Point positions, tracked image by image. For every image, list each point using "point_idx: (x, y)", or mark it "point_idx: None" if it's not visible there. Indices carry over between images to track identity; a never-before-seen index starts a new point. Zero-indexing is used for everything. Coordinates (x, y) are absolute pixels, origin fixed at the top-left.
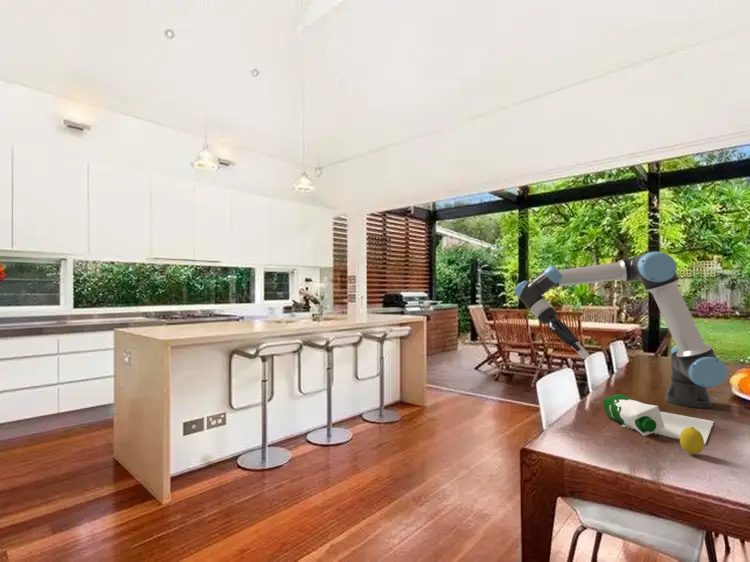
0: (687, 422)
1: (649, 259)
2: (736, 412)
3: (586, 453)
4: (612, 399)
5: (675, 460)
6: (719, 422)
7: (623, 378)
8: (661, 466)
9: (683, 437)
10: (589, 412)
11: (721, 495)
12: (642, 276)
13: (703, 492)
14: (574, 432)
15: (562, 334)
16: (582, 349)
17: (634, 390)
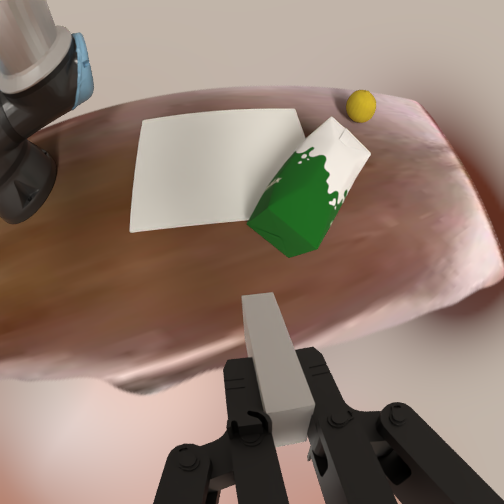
0: (186, 138)
1: None
2: (56, 128)
3: (468, 216)
4: (325, 212)
5: (391, 134)
6: (135, 119)
7: None
8: (420, 145)
9: (375, 109)
10: None
11: (421, 110)
12: None
13: (430, 119)
14: (432, 264)
15: (470, 484)
16: (288, 335)
17: None
